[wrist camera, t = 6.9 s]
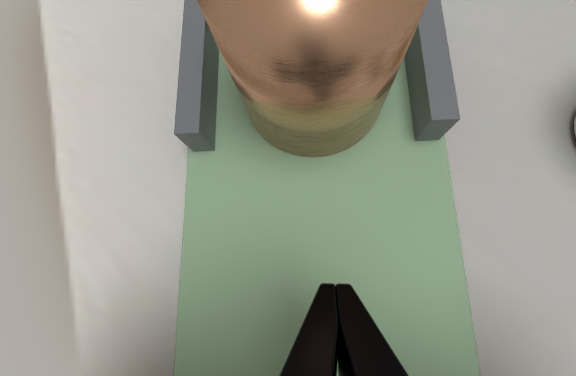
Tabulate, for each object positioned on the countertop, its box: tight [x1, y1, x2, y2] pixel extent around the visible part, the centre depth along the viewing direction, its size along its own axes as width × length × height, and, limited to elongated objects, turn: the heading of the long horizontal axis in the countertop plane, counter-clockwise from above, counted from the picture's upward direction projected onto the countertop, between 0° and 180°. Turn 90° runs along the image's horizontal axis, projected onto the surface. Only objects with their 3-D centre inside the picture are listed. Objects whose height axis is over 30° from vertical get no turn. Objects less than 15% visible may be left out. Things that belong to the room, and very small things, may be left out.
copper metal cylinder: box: [197, 0, 428, 157], centre depth 13 cm, size 8×8×8 cm
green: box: [174, 51, 480, 376], centre depth 16 cm, size 22×14×1 cm, turn 1°
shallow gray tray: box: [174, 0, 460, 152], centre depth 16 cm, size 9×13×2 cm
